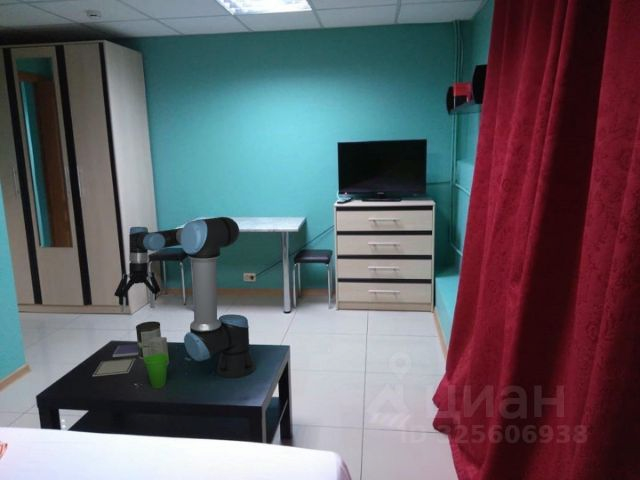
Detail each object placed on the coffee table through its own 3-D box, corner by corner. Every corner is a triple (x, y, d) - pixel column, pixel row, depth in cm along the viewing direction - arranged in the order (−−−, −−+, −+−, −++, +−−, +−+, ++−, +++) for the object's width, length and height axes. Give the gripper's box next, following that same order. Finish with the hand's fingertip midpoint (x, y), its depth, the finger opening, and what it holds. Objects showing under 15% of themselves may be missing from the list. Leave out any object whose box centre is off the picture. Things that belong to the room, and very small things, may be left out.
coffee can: (133, 358, 205) (130, 328, 203) (148, 349, 215) (146, 320, 212) (152, 360, 202) (150, 330, 200) (167, 351, 212) (164, 322, 209)
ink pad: (138, 354, 209) (138, 352, 209) (112, 357, 207) (112, 354, 207) (143, 345, 220) (142, 343, 219) (118, 347, 218) (118, 345, 217)
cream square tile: (128, 372, 191) (128, 371, 191) (92, 376, 188) (92, 375, 188) (135, 358, 204) (135, 358, 204) (101, 362, 202) (101, 361, 202)
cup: (141, 389, 176) (139, 362, 174) (153, 378, 185) (151, 353, 183) (164, 390, 175) (161, 363, 173) (174, 379, 184) (172, 353, 182)
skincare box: (169, 363, 198) (167, 337, 196) (164, 368, 194) (161, 341, 192) (156, 362, 200) (154, 336, 198) (150, 367, 195) (148, 340, 193)
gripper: (159, 259, 214) (159, 305, 215) (106, 263, 195) (105, 312, 196) (168, 261, 209) (168, 307, 210) (114, 264, 190) (114, 315, 191)
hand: (138, 310), depth 203 cm, fingers open, 13 cm apart
